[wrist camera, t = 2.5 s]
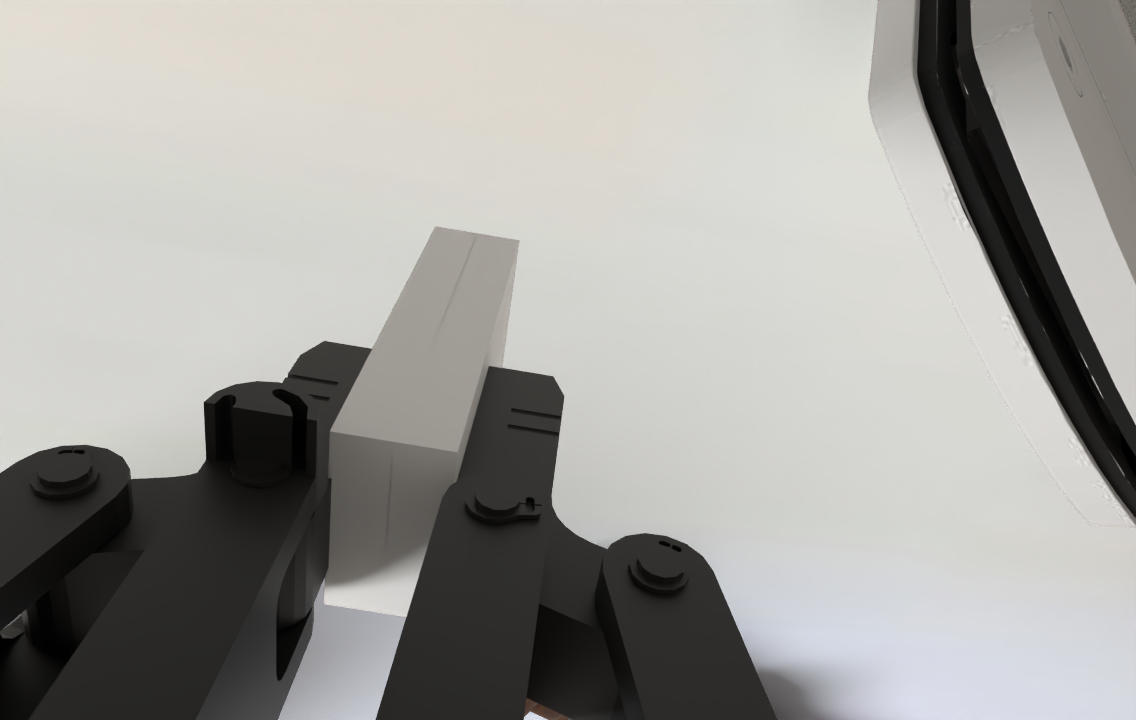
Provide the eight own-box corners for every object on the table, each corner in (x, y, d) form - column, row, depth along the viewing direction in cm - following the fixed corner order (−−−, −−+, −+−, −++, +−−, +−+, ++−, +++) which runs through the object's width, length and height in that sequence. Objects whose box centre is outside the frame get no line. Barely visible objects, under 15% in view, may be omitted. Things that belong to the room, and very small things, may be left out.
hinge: (1254, 338, 30) (1325, 585, 23) (1093, 377, 33) (1113, 608, 26) (1059, -150, 24) (1075, -16, 17) (882, -50, 27) (831, 100, 20)
